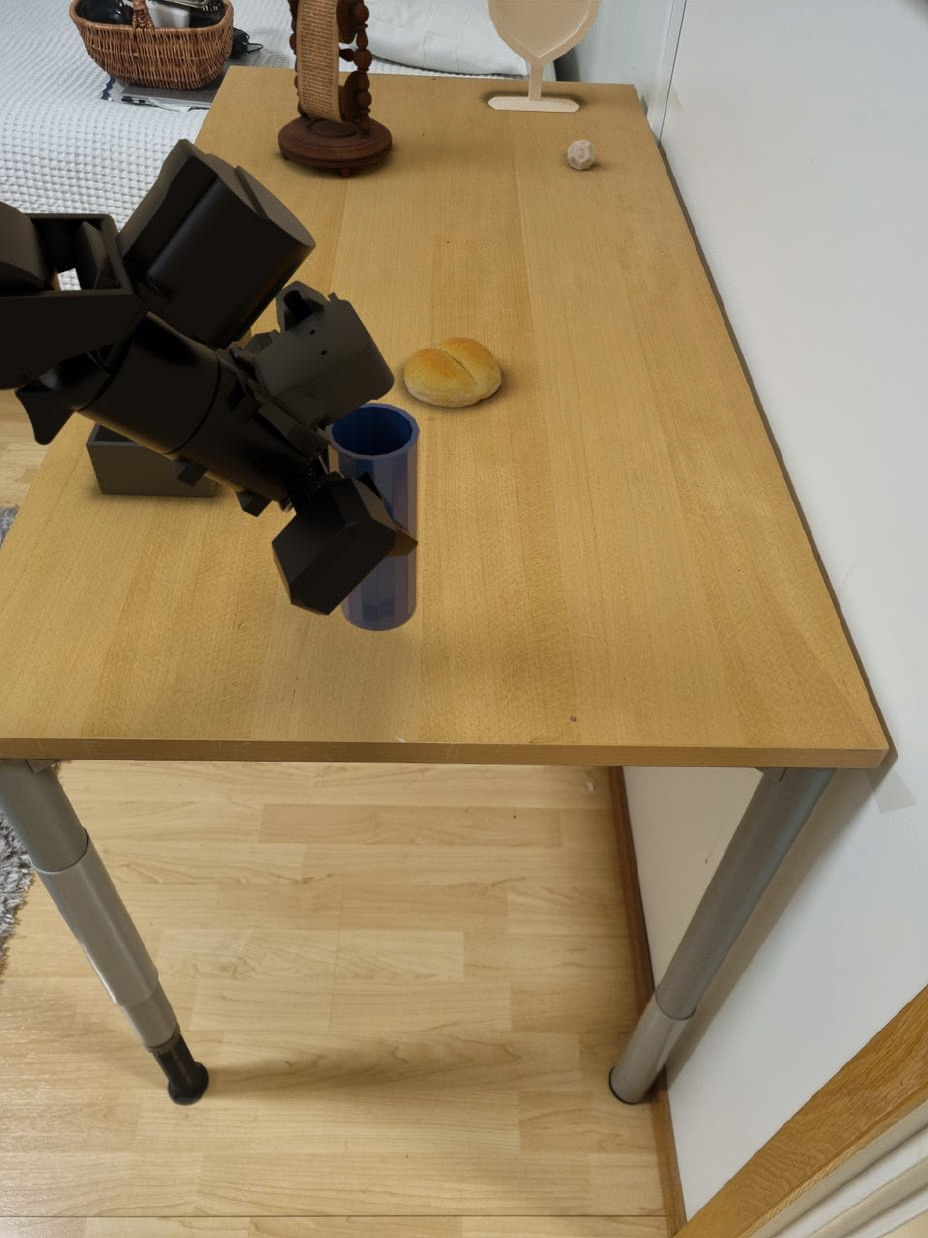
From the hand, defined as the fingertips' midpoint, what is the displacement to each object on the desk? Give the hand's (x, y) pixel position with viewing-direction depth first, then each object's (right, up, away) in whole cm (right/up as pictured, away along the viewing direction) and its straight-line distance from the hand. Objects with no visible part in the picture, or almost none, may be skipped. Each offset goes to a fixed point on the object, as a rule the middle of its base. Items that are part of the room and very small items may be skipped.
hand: (397, 518), depth 57 cm
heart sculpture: (+14, +70, +81) cm, 108 cm away
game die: (+19, +54, +67) cm, 88 cm away
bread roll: (+3, +16, +32) cm, 36 cm away
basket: (-21, +12, +26) cm, 36 cm away
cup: (-2, -5, +5) cm, 7 cm away
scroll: (-13, +55, +66) cm, 87 cm away
